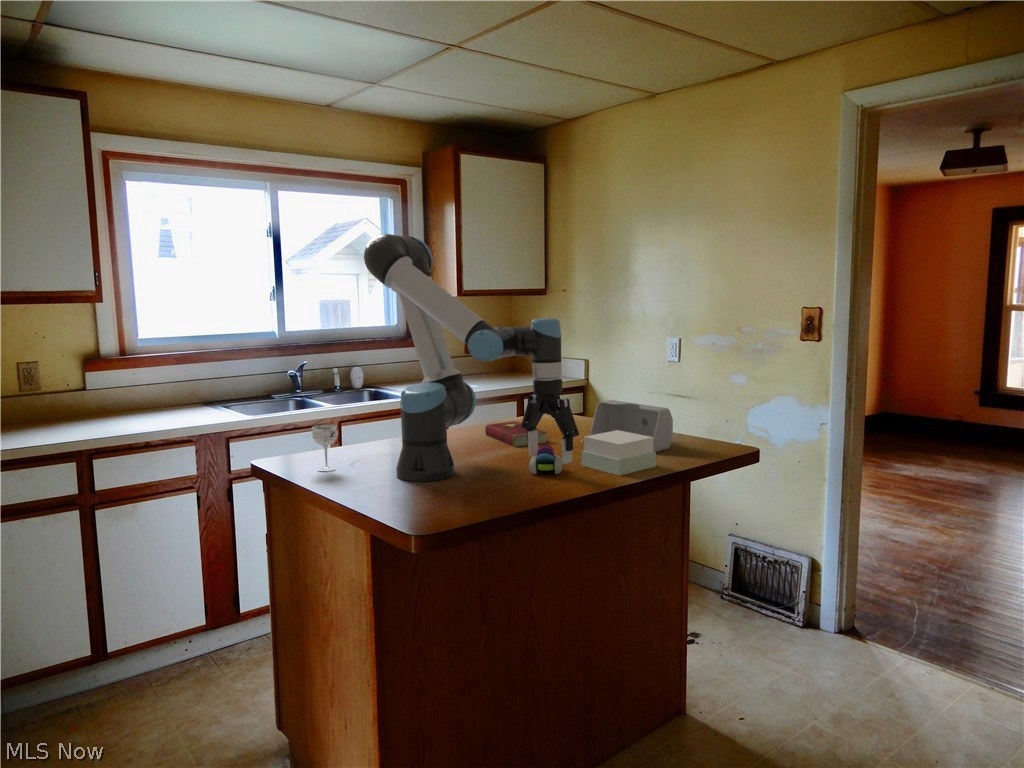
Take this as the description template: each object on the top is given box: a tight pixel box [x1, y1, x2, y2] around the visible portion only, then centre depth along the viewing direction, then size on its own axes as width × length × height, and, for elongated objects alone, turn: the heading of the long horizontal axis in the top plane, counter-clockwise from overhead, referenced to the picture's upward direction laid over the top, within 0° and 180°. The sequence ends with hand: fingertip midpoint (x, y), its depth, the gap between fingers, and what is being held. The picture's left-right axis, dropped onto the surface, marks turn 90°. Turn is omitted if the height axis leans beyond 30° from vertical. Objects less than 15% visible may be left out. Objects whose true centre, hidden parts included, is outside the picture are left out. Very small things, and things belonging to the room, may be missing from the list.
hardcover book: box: [484, 420, 548, 448], centre depth 225 cm, size 12×21×4 cm, turn 27°
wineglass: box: [311, 423, 339, 468], centre depth 188 cm, size 7×7×12 cm
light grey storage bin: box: [588, 399, 674, 453], centre depth 214 cm, size 25×16×12 cm, turn 39°
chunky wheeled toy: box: [528, 443, 563, 475], centre depth 183 cm, size 8×10×7 cm
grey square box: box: [581, 430, 657, 476], centre depth 187 cm, size 14×14×8 cm
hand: (549, 458), depth 182 cm, fingers open, 13 cm apart
